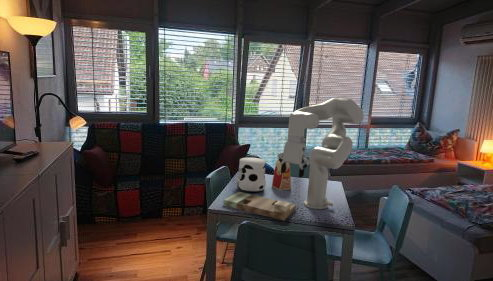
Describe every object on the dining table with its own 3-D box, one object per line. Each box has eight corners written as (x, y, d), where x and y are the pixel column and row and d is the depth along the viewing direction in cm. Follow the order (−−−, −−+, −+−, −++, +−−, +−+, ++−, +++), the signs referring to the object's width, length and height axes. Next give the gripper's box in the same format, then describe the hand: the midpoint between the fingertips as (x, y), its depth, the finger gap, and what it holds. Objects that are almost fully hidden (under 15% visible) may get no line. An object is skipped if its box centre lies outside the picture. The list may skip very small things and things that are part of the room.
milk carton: (291, 188, 206) (294, 157, 202) (279, 190, 200) (282, 158, 197) (281, 184, 213) (284, 154, 210) (270, 186, 208) (272, 155, 204)
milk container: (270, 189, 201) (272, 160, 198) (256, 196, 187) (258, 165, 184) (245, 183, 210) (247, 155, 207) (230, 190, 195) (232, 160, 192)
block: (289, 209, 161) (290, 203, 161) (285, 213, 156) (286, 206, 155) (278, 207, 164) (278, 200, 163) (273, 210, 158) (274, 203, 158)
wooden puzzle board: (295, 210, 169) (295, 204, 169) (284, 220, 155) (284, 214, 155) (238, 197, 184) (238, 191, 183) (223, 205, 170) (223, 199, 169)
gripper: (315, 141, 154) (311, 177, 157) (284, 136, 165) (280, 169, 167) (308, 142, 148) (304, 180, 151) (275, 137, 159) (272, 172, 161)
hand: (291, 174), depth 159 cm, fingers open, 9 cm apart
